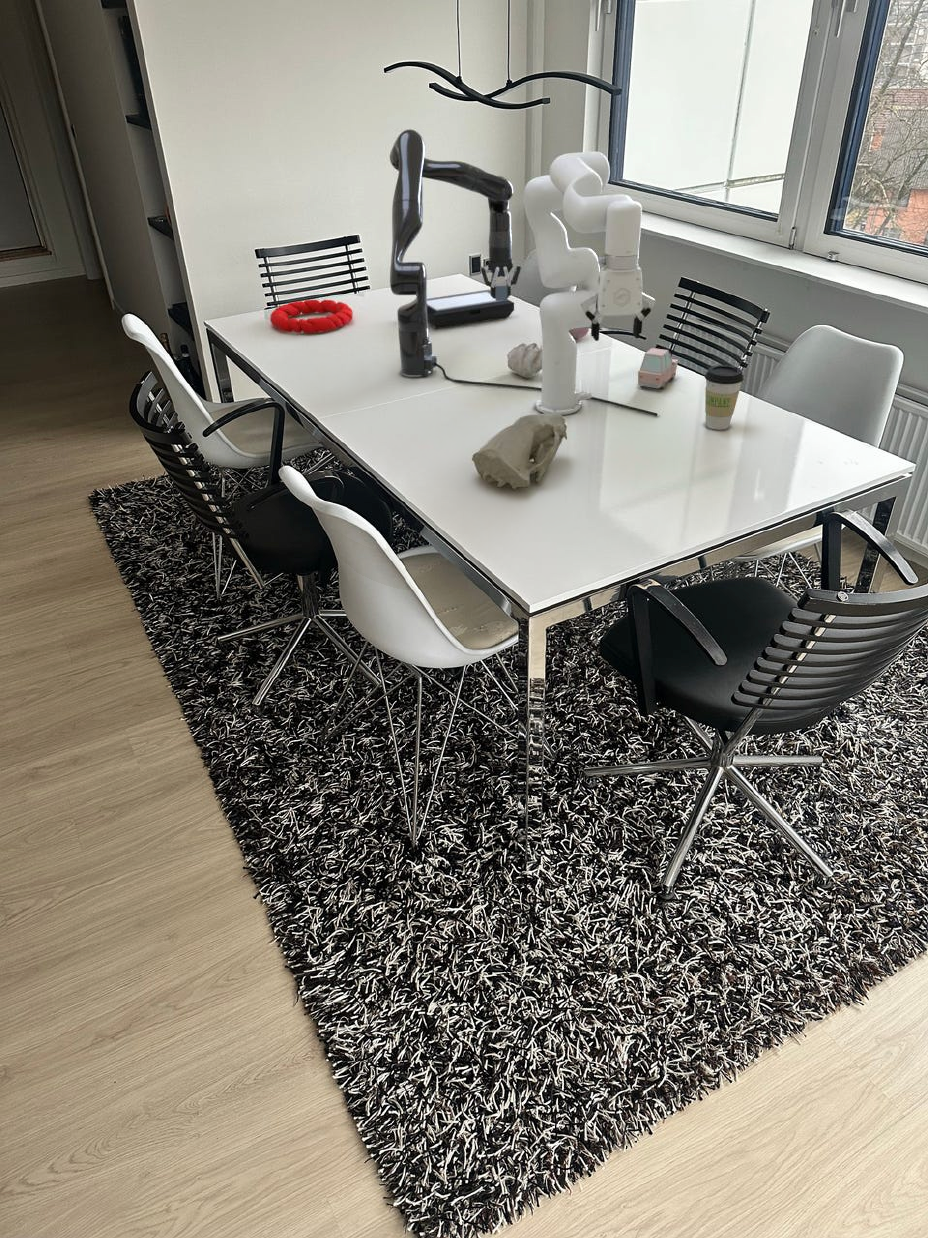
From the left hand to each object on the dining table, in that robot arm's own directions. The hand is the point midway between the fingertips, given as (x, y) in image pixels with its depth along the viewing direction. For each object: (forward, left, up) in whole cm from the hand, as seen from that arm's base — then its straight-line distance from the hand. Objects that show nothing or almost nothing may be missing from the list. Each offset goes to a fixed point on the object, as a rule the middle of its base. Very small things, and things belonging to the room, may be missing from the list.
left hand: (500, 297), depth 302 cm
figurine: (-25, -6, -13) cm, 29 cm away
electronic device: (+21, -16, -13) cm, 30 cm away
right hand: (-62, +83, +16) cm, 105 cm away
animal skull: (-47, +99, -13) cm, 111 cm away
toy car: (-62, +28, -13) cm, 69 cm away
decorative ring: (+72, +7, -13) cm, 74 cm away
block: (0, 0, 0) cm, 0 cm away
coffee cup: (-85, +55, -13) cm, 102 cm away
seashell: (-23, +35, -13) cm, 44 cm away
